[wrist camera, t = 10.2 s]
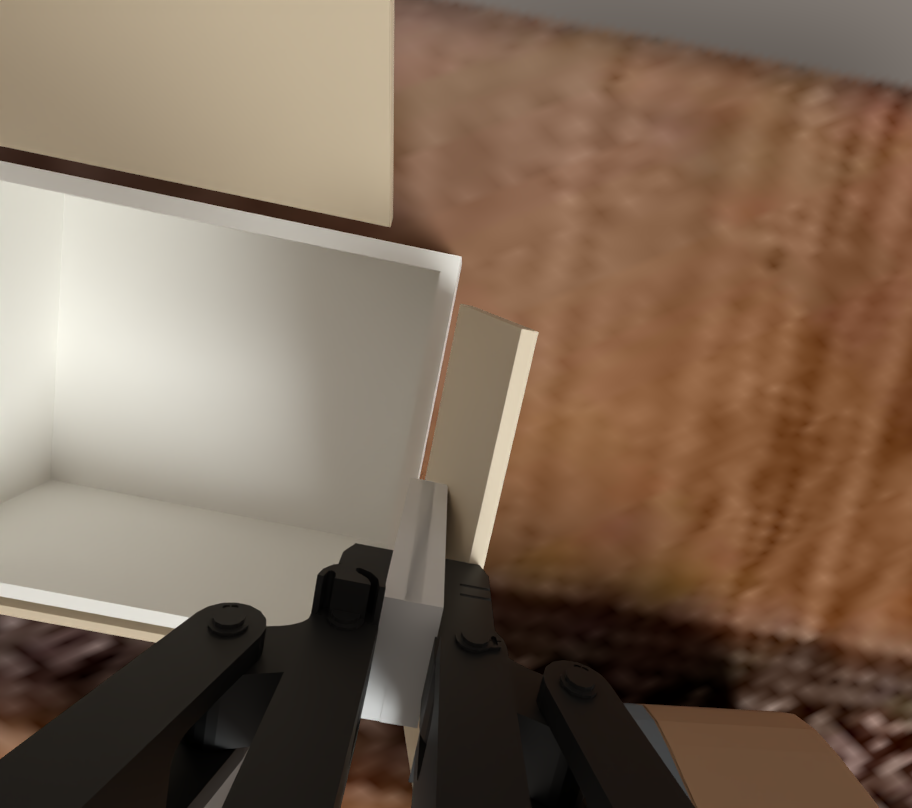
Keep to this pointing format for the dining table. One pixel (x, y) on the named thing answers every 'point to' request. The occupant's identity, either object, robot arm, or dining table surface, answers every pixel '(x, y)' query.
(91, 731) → the robot arm
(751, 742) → the alarm clock
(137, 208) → the carton
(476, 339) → the short flap
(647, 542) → the dining table surface
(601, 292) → the dining table surface
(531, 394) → the dining table surface
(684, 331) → the dining table surface
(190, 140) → the long flap
